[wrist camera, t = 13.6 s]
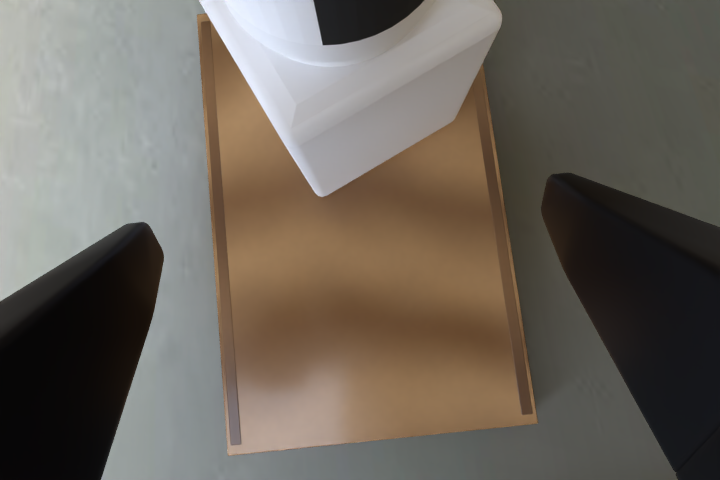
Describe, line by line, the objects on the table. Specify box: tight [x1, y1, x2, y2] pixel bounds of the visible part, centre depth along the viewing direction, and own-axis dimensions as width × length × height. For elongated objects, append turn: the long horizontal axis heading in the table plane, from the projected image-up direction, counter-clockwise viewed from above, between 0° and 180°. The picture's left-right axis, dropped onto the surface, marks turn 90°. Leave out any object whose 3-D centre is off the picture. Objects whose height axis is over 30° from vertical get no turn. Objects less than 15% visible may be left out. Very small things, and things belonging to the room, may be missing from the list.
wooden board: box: [197, 13, 538, 456], centre depth 18 cm, size 20×13×1 cm, turn 6°
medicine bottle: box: [199, 0, 502, 197], centre depth 12 cm, size 7×7×12 cm
